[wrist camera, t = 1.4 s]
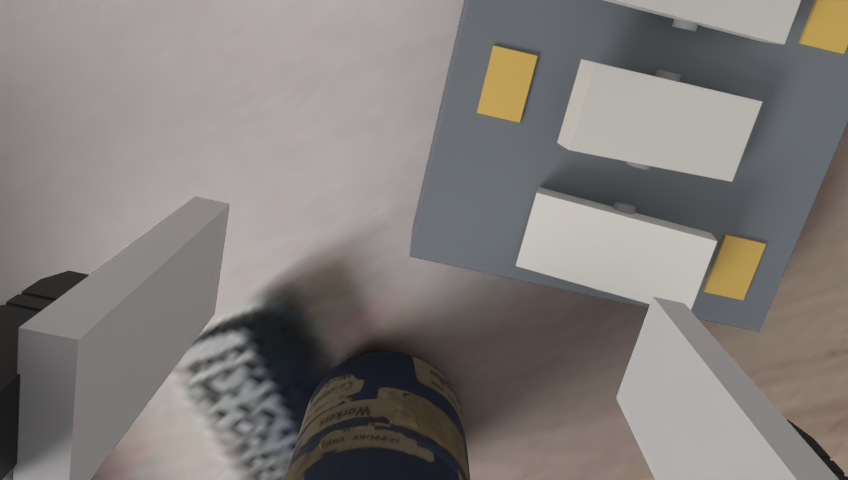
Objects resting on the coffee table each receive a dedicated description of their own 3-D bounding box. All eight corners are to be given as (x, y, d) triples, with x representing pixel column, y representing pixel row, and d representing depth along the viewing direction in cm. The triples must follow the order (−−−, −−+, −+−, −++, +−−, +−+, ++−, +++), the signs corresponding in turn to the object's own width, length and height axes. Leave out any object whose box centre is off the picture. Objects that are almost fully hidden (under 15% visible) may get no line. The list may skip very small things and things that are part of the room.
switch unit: (412, 226, 37) (409, 257, 32) (493, -126, 32) (504, -153, 27) (721, 293, 38) (763, 334, 33) (851, -37, 33) (926, -47, 28)
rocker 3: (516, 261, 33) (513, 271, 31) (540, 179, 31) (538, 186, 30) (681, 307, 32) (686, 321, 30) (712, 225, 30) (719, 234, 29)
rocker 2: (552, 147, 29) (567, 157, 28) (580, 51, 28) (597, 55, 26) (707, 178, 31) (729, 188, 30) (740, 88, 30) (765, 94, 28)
